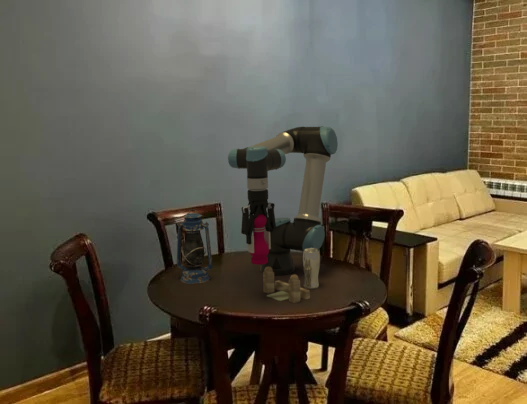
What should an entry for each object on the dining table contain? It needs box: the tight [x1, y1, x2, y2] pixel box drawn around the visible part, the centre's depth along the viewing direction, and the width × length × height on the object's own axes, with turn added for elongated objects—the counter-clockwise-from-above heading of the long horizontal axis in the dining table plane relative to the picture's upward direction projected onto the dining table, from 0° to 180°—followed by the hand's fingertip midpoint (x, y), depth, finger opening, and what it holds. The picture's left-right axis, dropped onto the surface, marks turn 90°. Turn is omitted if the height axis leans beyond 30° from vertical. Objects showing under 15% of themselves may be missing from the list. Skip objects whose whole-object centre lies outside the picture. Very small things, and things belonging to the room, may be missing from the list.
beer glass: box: [301, 248, 321, 290], centre depth 219 cm, size 7×7×15 cm
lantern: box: [176, 208, 213, 285], centre depth 229 cm, size 15×12×30 cm
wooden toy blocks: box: [262, 266, 311, 304], centre depth 208 cm, size 18×10×10 cm, turn 40°
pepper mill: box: [249, 214, 269, 266], centre depth 203 cm, size 7×7×20 cm
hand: (259, 250), depth 204 cm, fingers closed on pepper mill, 7 cm apart
